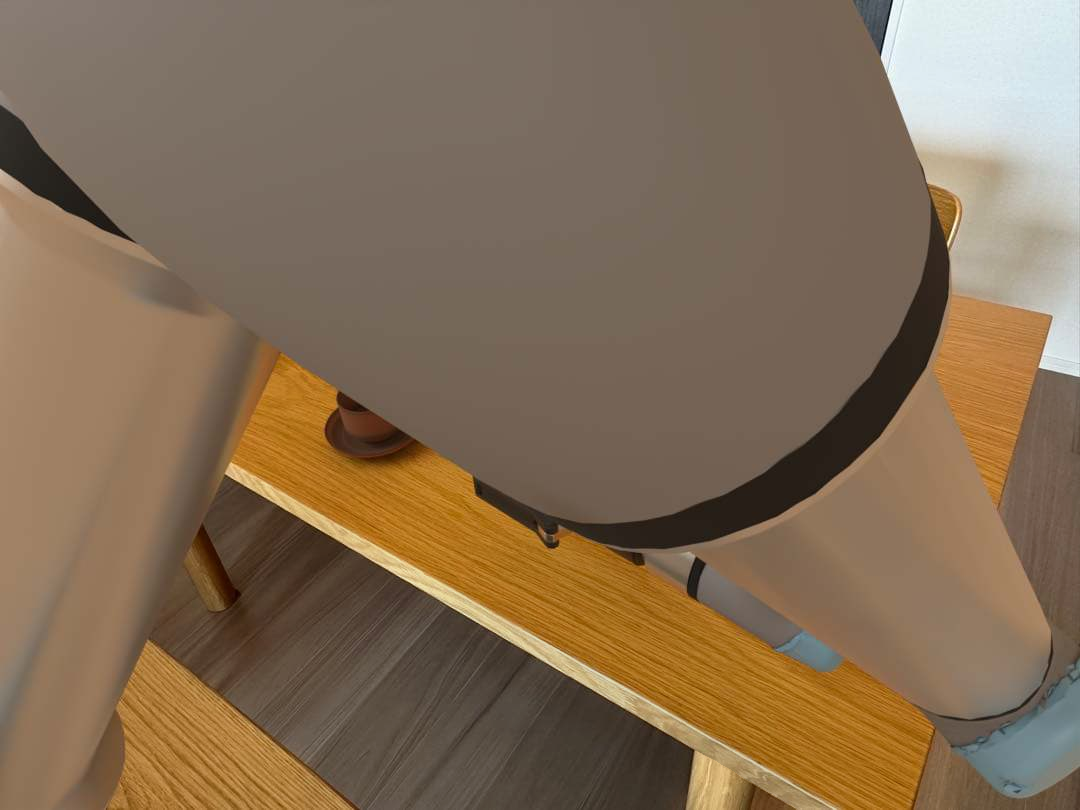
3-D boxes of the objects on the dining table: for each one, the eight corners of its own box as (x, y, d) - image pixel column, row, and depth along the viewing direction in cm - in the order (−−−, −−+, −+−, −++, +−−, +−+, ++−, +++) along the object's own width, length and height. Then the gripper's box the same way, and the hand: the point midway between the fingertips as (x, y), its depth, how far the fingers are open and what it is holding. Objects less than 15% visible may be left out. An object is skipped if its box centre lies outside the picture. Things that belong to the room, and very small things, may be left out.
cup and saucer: (308, 439, 84) (294, 399, 80) (384, 391, 91) (375, 352, 87) (371, 481, 77) (359, 440, 74) (448, 426, 84) (441, 385, 81)
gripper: (598, 631, 53) (400, 496, 65) (716, 496, 63) (525, 402, 76) (597, 568, 48) (384, 436, 61) (725, 434, 58) (520, 344, 71)
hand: (463, 417), depth 68 cm, fingers closed on pill bottle, 5 cm apart
